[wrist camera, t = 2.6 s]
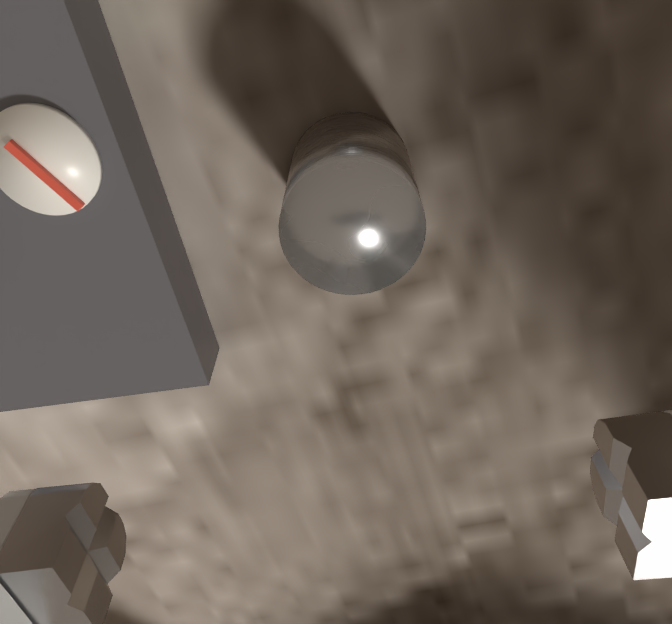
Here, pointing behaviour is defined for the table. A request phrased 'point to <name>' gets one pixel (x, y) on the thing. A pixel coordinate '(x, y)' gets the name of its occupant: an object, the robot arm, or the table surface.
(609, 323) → the table surface
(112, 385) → the scale
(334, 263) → the cylinder
